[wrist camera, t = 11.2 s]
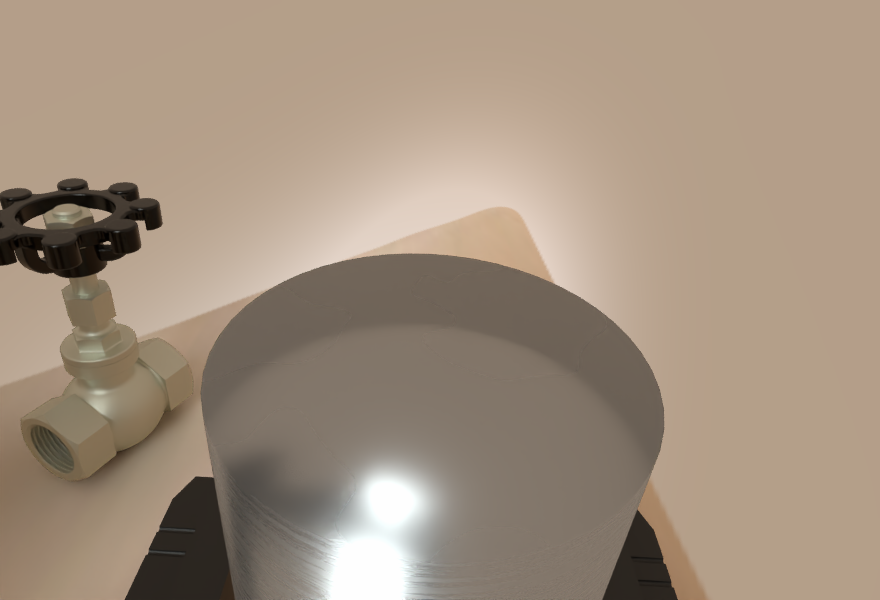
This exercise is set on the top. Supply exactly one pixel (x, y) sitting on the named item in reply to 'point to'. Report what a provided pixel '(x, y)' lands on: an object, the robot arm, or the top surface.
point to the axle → (426, 435)
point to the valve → (92, 326)
